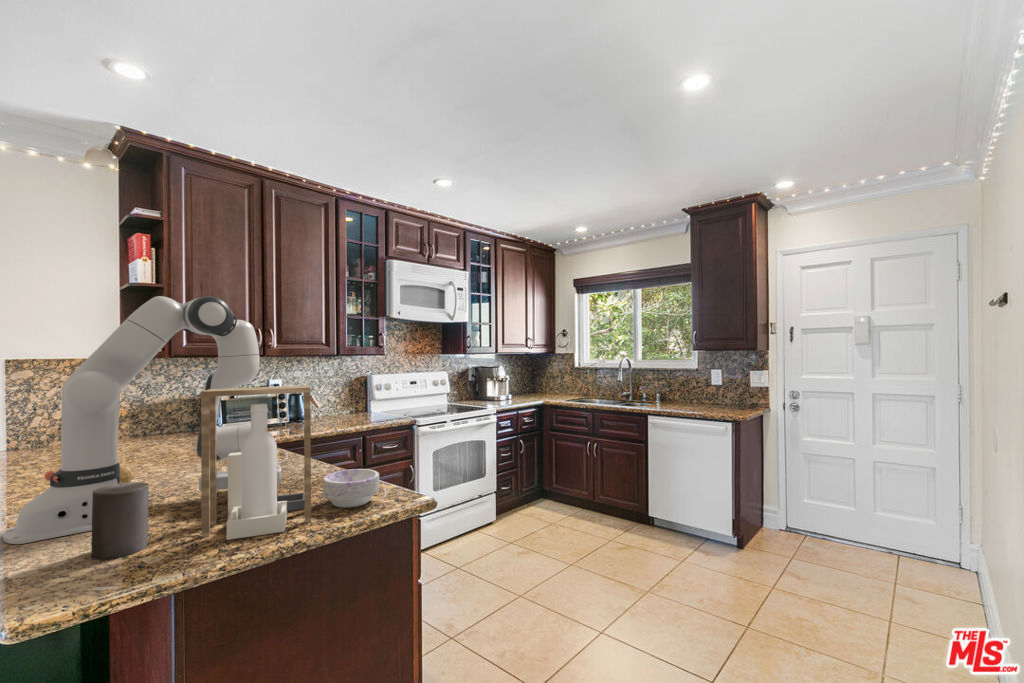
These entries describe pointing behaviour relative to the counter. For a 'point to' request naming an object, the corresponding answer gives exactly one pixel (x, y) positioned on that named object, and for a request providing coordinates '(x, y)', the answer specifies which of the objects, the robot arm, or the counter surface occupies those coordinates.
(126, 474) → the potato
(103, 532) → the pillar candle
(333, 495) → the paper bowls
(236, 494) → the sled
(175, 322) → the robot arm
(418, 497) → the counter surface
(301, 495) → the tray
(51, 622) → the counter surface
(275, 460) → the bottle
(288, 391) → the oak shelf bridge
